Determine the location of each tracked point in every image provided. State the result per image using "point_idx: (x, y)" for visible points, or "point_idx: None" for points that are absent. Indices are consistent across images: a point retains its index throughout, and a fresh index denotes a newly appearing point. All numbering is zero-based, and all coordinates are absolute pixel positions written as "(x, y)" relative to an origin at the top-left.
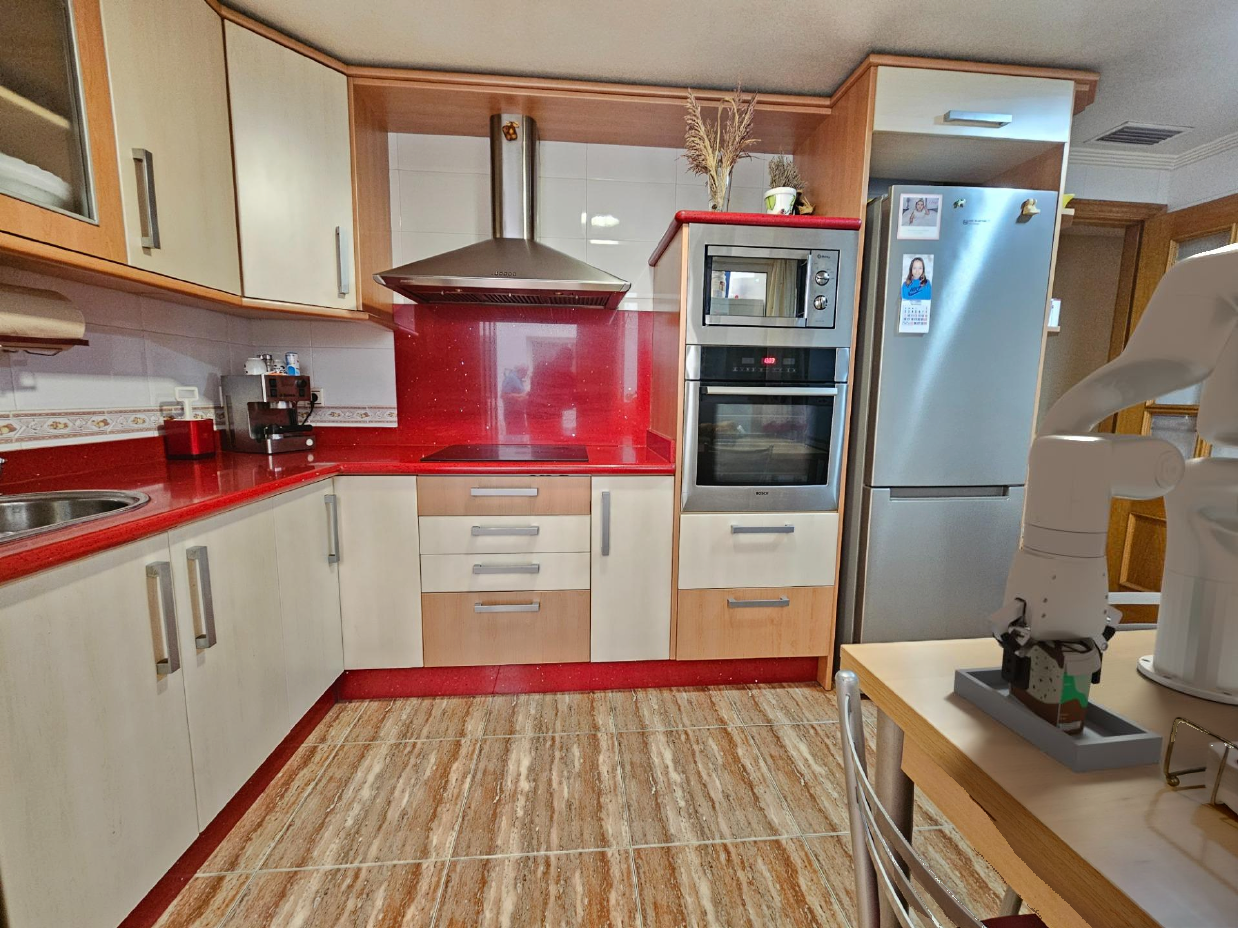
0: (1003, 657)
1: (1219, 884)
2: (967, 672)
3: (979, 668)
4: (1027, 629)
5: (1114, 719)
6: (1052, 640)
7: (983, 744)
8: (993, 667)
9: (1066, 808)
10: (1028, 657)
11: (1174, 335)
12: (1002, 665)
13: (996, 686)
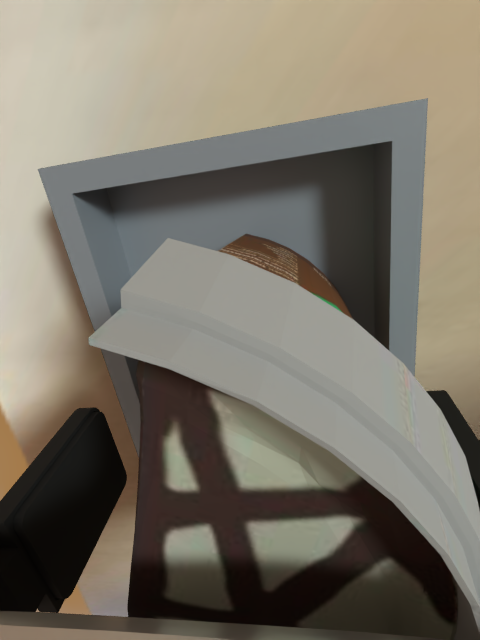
0: (28, 472)
1: None
2: (84, 190)
3: (153, 154)
4: (223, 461)
5: None
6: (245, 618)
7: (57, 412)
8: (228, 142)
9: (109, 539)
10: (48, 608)
11: None
12: (51, 442)
13: (236, 175)
